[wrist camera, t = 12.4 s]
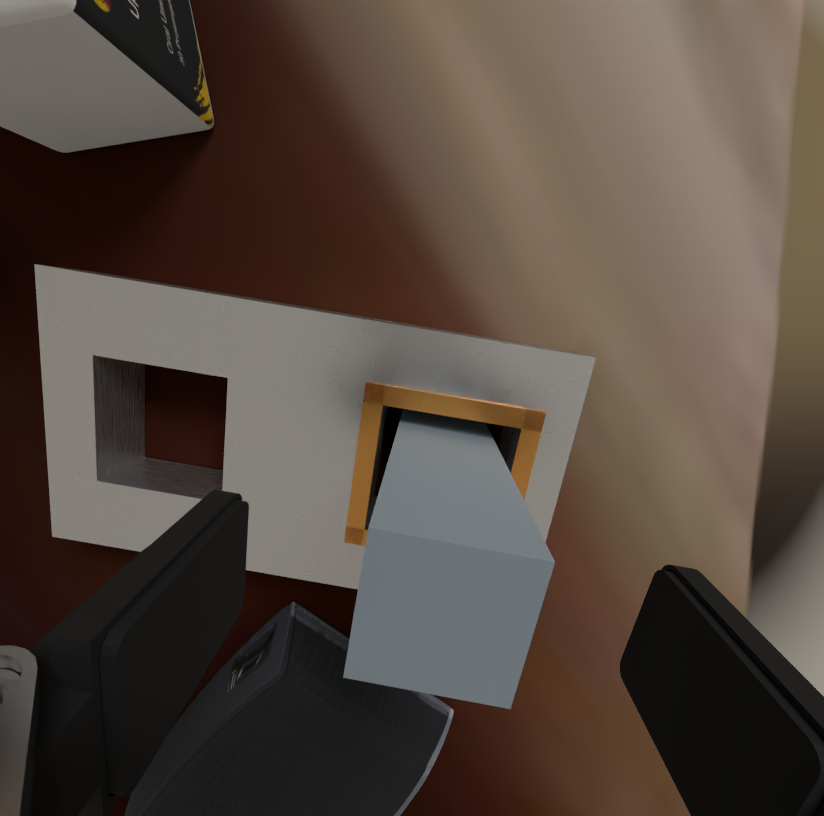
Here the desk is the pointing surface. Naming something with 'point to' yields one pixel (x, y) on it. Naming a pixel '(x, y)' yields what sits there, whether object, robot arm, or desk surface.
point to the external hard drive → (294, 735)
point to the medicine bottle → (100, 72)
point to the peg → (448, 568)
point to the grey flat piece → (274, 413)
